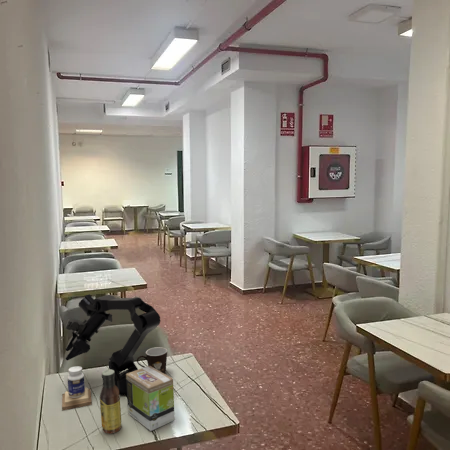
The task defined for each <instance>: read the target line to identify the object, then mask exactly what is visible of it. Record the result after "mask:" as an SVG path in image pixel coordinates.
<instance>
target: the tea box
mask: <svg viewBox="0 0 450 450" xmlns="http://www.w3.org/2000/svg"><path fill="white" fill-rule="evenodd" d="M126 383H127V396H126V398H127V400H126V401H127V413H128V414H129V415H130V416H131V417H132V418H133V419H135V420H136V421H137V422H138V423H140V424H141V425H142V426H144V427H145V428H146V429H147V430H148V431H150V432H152V431H154V430H157V429H159V428H161V427H163V426H165V425H167V424H169V423H171V422H172V423H173V421H175V420H176V416H175V414H176V413H175V396H174V395H175V394H174V393H175V392H174V379H173V377H170V376H169V375H168V374H164V373H162V372H160V371H159V370H157V369H155V368H153V367H151V366H148V365H147V366H145V367H144V368H143V367H141V368H140V369H139V368H138V370H136V371H133V372H130V373H127V374H126Z"/></svg>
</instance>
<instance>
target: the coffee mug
mask: <svg viewBox="0 0 450 450" xmlns="http://www.w3.org/2000/svg"><path fill="white" fill-rule="evenodd" d="M141 358H144V359H145V361H146V362H147V366H151V367H153V368H155V369H157V370H159V371H160V372H162V373H164V374H166V372H167V361H168V360H167V359H168V349H167V348H166V347H161V346H160V347H159V346H158V347H157V346H156V347H151V348H149V349H147V350H146V351H145V355H140V356H138V357H137V358H136V363H137V364H138V366H140V367H141V368H144V367H146V366H145V365H143V364H141V363H140V362H139V360H140V359H141ZM166 375H167V374H166Z"/></svg>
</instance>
